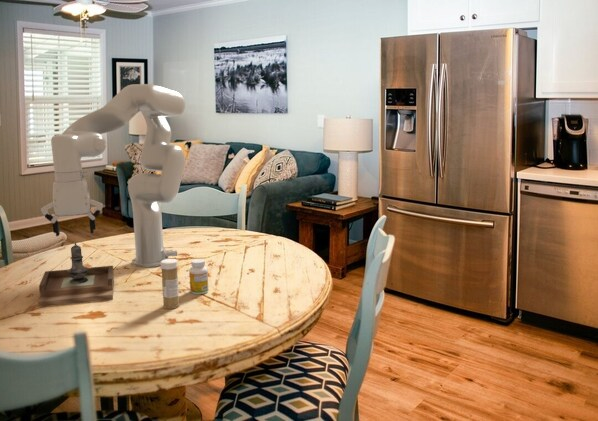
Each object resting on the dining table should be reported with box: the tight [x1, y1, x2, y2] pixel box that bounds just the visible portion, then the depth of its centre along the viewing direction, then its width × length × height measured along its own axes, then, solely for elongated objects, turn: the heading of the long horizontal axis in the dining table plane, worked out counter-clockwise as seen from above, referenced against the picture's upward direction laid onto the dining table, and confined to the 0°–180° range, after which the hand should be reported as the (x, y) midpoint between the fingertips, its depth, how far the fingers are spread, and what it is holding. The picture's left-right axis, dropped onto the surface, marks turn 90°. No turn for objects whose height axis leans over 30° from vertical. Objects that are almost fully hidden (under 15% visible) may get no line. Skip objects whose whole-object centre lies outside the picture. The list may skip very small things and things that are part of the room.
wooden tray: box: [37, 265, 115, 308], centre depth 178 cm, size 20×18×5 cm
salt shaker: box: [67, 242, 89, 284], centre depth 178 cm, size 6×6×12 cm
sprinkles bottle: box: [160, 258, 180, 310], centre depth 165 cm, size 5×5×13 cm
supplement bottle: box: [189, 258, 209, 295], centre depth 178 cm, size 5×5×10 cm
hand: (75, 233), depth 177 cm, fingers open, 9 cm apart
